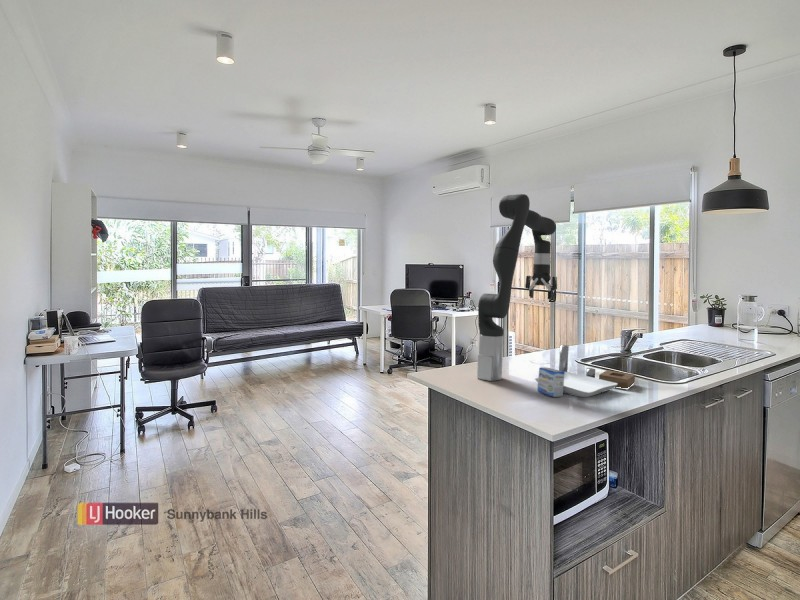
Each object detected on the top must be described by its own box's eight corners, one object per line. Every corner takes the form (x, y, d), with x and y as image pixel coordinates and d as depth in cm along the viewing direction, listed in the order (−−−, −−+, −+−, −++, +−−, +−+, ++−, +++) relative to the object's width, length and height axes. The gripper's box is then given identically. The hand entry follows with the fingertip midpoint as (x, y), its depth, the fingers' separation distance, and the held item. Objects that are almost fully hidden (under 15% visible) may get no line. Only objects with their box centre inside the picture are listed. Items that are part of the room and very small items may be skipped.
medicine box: (536, 391, 160) (538, 367, 159) (546, 391, 162) (548, 367, 161) (553, 397, 153) (555, 371, 152) (563, 396, 155) (565, 371, 154)
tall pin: (565, 379, 178) (566, 346, 177) (557, 377, 180) (558, 345, 179) (568, 377, 181) (569, 345, 180) (560, 376, 183) (561, 344, 182)
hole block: (627, 390, 164) (627, 379, 164) (598, 385, 171) (599, 374, 170) (634, 384, 172) (635, 374, 171) (606, 380, 178) (607, 370, 178)
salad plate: (618, 391, 162) (619, 382, 162) (588, 402, 149) (589, 391, 148) (564, 379, 178) (565, 370, 178) (533, 387, 165) (533, 378, 165)
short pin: (593, 383, 173) (593, 370, 173) (584, 381, 175) (585, 369, 175) (595, 381, 176) (596, 369, 175) (587, 380, 178) (588, 367, 177)
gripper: (523, 263, 210) (522, 297, 212) (553, 263, 201) (552, 299, 202) (530, 263, 216) (529, 297, 217) (560, 263, 207) (558, 299, 208)
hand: (540, 298), depth 210 cm, fingers open, 8 cm apart
